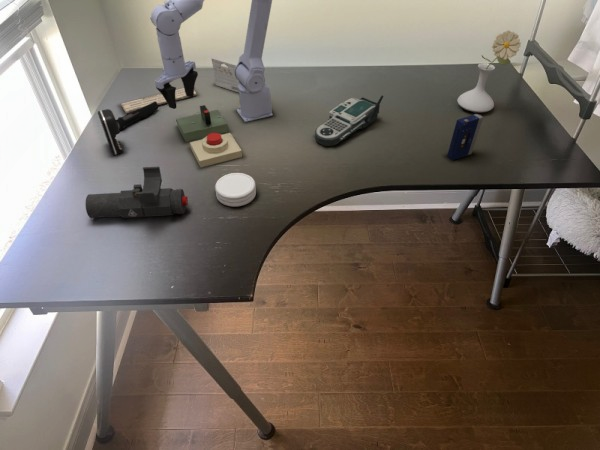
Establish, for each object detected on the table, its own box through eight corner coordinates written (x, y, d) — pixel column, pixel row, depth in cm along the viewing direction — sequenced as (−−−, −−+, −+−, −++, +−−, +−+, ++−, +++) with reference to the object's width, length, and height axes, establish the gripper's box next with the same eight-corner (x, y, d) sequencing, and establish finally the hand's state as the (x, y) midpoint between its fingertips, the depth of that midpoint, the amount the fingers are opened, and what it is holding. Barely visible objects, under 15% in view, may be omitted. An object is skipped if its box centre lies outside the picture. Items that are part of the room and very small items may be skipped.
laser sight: (99, 202, 110) (86, 170, 104) (191, 197, 112) (183, 165, 105) (89, 229, 103) (74, 196, 97) (187, 224, 105) (179, 191, 98)
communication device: (302, 137, 132) (302, 111, 126) (352, 107, 145) (354, 82, 139) (333, 153, 127) (335, 126, 120) (382, 120, 139) (385, 94, 133)
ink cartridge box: (219, 82, 158) (215, 55, 151) (244, 90, 153) (241, 63, 147) (214, 85, 156) (210, 58, 149) (239, 93, 152) (237, 65, 145)
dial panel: (218, 118, 140) (217, 109, 138) (228, 132, 134) (227, 123, 132) (178, 127, 136) (176, 118, 134) (185, 142, 130) (183, 133, 128)
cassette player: (452, 160, 124) (463, 122, 116) (446, 156, 125) (456, 118, 117) (472, 153, 126) (484, 116, 118) (466, 149, 128) (477, 112, 120)
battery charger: (127, 152, 126) (115, 117, 118) (113, 156, 125) (100, 120, 117) (121, 140, 130) (110, 105, 123) (108, 144, 129) (96, 108, 121)
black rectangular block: (201, 116, 135) (199, 105, 132) (206, 115, 135) (204, 104, 133) (206, 124, 132) (204, 113, 129) (211, 123, 132) (209, 111, 129)
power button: (219, 136, 126) (218, 131, 125) (223, 144, 123) (223, 138, 122) (205, 140, 124) (204, 134, 123) (209, 147, 122) (209, 142, 121)
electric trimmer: (161, 111, 143) (159, 102, 141) (121, 131, 134) (118, 122, 132) (154, 108, 145) (152, 99, 143) (113, 127, 136) (110, 118, 134)
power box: (230, 139, 131) (229, 127, 129) (242, 157, 125) (241, 144, 122) (190, 148, 128) (188, 136, 125) (200, 167, 121) (198, 155, 118)
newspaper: (127, 114, 141) (125, 109, 140) (120, 105, 146) (119, 100, 144) (196, 96, 150) (196, 91, 149) (189, 88, 155) (188, 83, 153)
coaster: (240, 212, 108) (238, 201, 105) (208, 198, 112) (206, 187, 109) (263, 190, 114) (263, 179, 112) (233, 178, 118) (231, 167, 115)
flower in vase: (453, 112, 143) (475, 32, 126) (458, 96, 151) (479, 19, 134) (496, 120, 140) (524, 39, 123) (498, 103, 148) (525, 25, 130)
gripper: (178, 42, 124) (186, 88, 134) (141, 62, 115) (153, 109, 125) (198, 47, 122) (205, 93, 131) (162, 67, 113) (173, 115, 122)
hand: (181, 101), depth 128 cm, fingers open, 7 cm apart
